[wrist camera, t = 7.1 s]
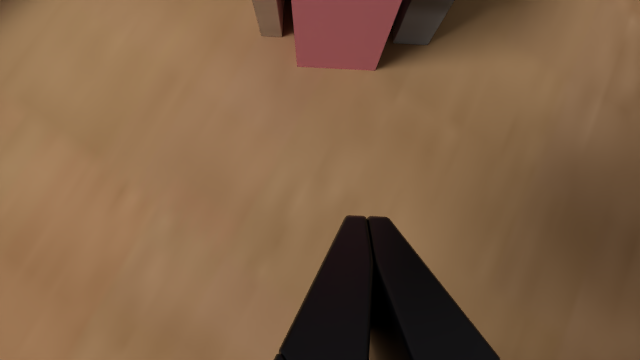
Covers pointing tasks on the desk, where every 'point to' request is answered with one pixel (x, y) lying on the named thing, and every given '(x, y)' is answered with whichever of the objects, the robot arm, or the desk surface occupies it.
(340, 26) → the book
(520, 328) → the desk surface
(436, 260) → the desk surface
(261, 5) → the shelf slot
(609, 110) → the desk surface
